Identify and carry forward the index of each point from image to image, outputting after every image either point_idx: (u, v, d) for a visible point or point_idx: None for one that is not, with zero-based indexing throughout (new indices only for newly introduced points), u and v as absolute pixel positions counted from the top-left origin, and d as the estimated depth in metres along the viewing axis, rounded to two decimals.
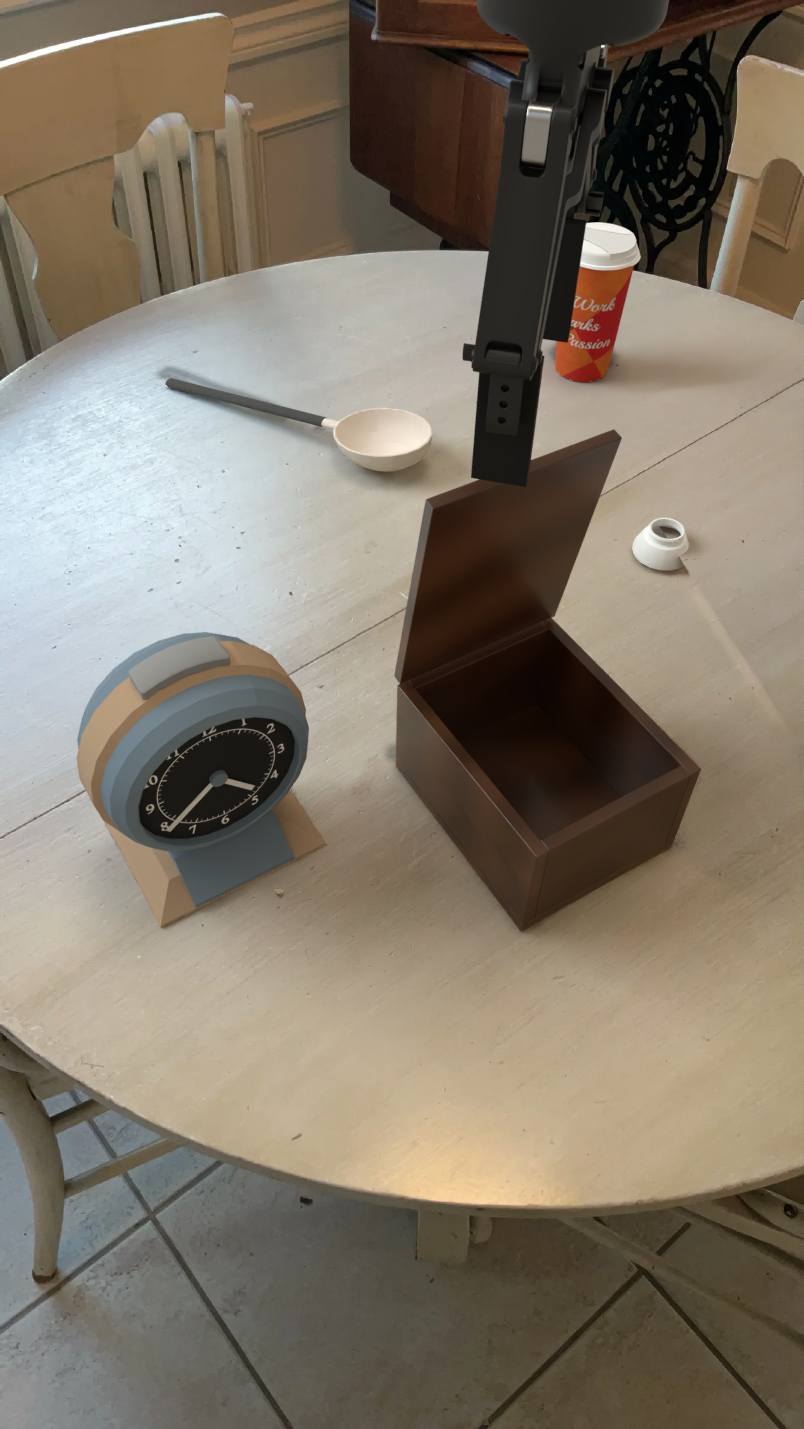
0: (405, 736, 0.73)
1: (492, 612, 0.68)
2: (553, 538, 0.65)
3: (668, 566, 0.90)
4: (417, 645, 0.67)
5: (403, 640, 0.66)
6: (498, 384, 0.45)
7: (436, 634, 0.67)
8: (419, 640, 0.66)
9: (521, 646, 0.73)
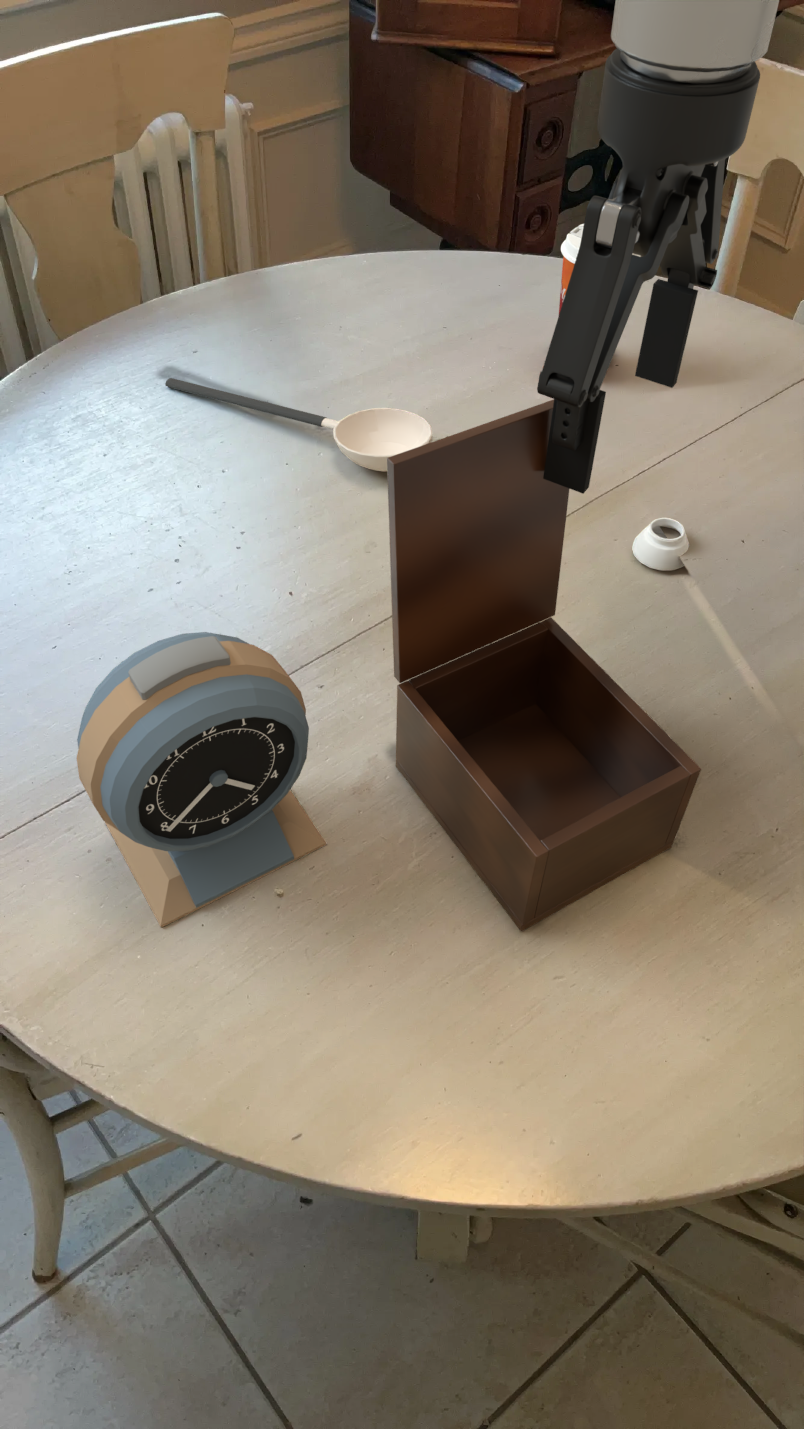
0: (405, 736, 0.73)
1: (483, 601, 0.69)
2: (531, 515, 0.66)
3: (668, 566, 0.90)
4: (409, 634, 0.67)
5: (394, 629, 0.67)
6: (563, 407, 0.58)
7: (427, 623, 0.67)
8: (410, 628, 0.67)
9: (521, 646, 0.73)
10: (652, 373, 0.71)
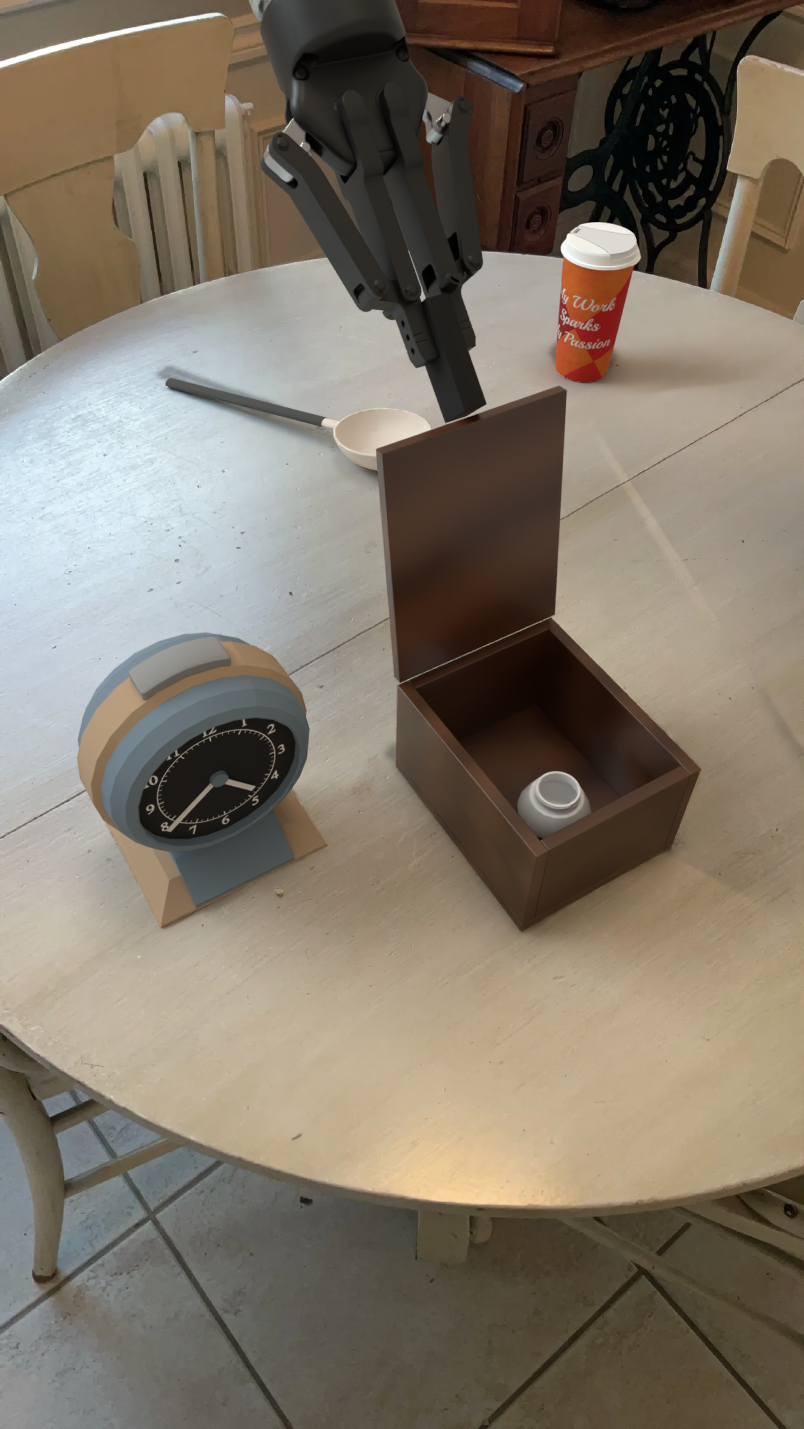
0: (405, 736, 0.73)
1: (481, 599, 0.69)
2: (525, 509, 0.66)
3: None
4: (407, 632, 0.67)
5: (392, 627, 0.67)
6: (400, 323, 0.60)
7: (425, 620, 0.67)
8: (408, 625, 0.67)
9: (521, 646, 0.73)
10: None
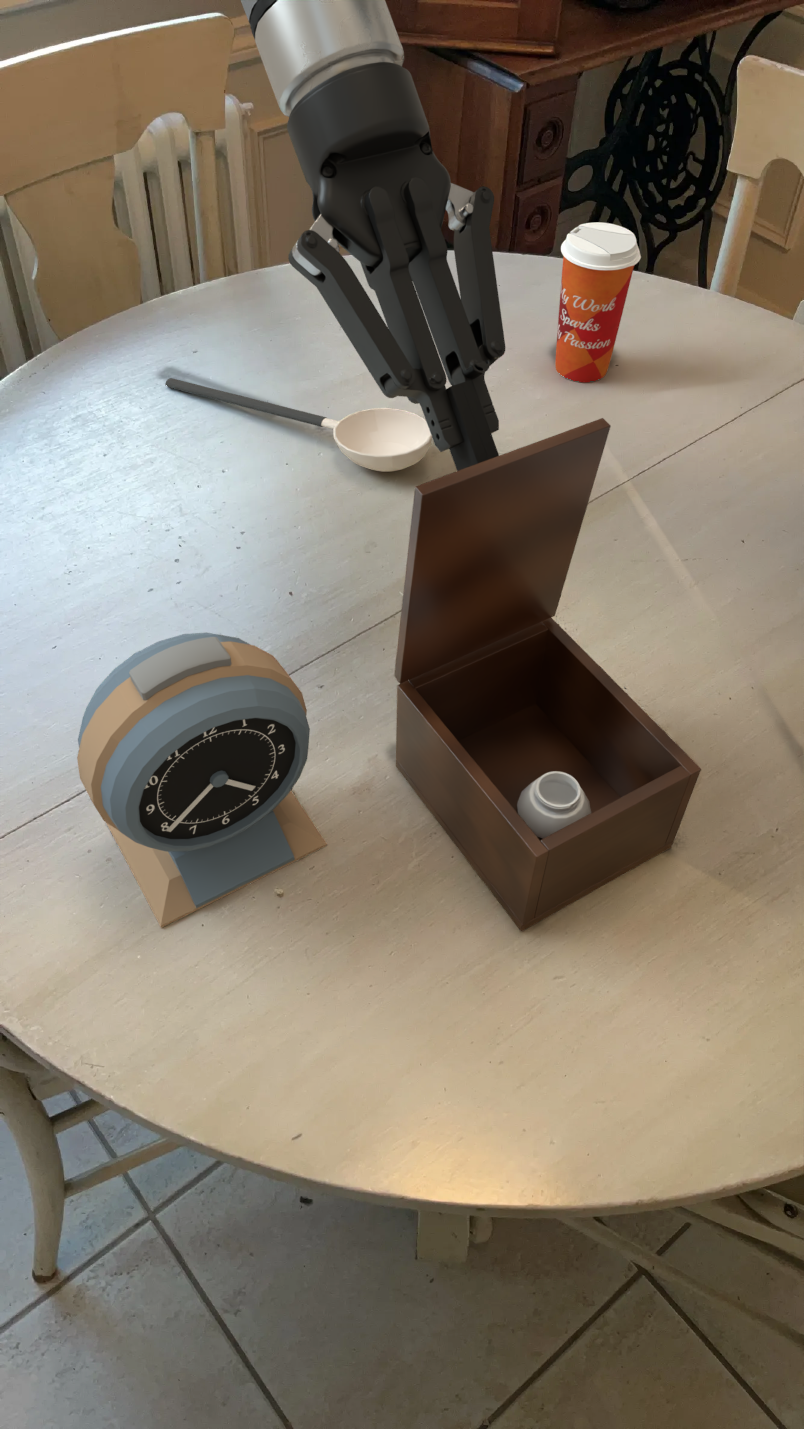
0: (405, 736, 0.73)
1: (489, 609, 0.68)
2: (547, 531, 0.65)
3: None
4: (415, 642, 0.67)
5: (401, 637, 0.66)
6: (425, 409, 0.61)
7: (434, 631, 0.67)
8: (417, 637, 0.66)
9: (521, 646, 0.73)
10: None
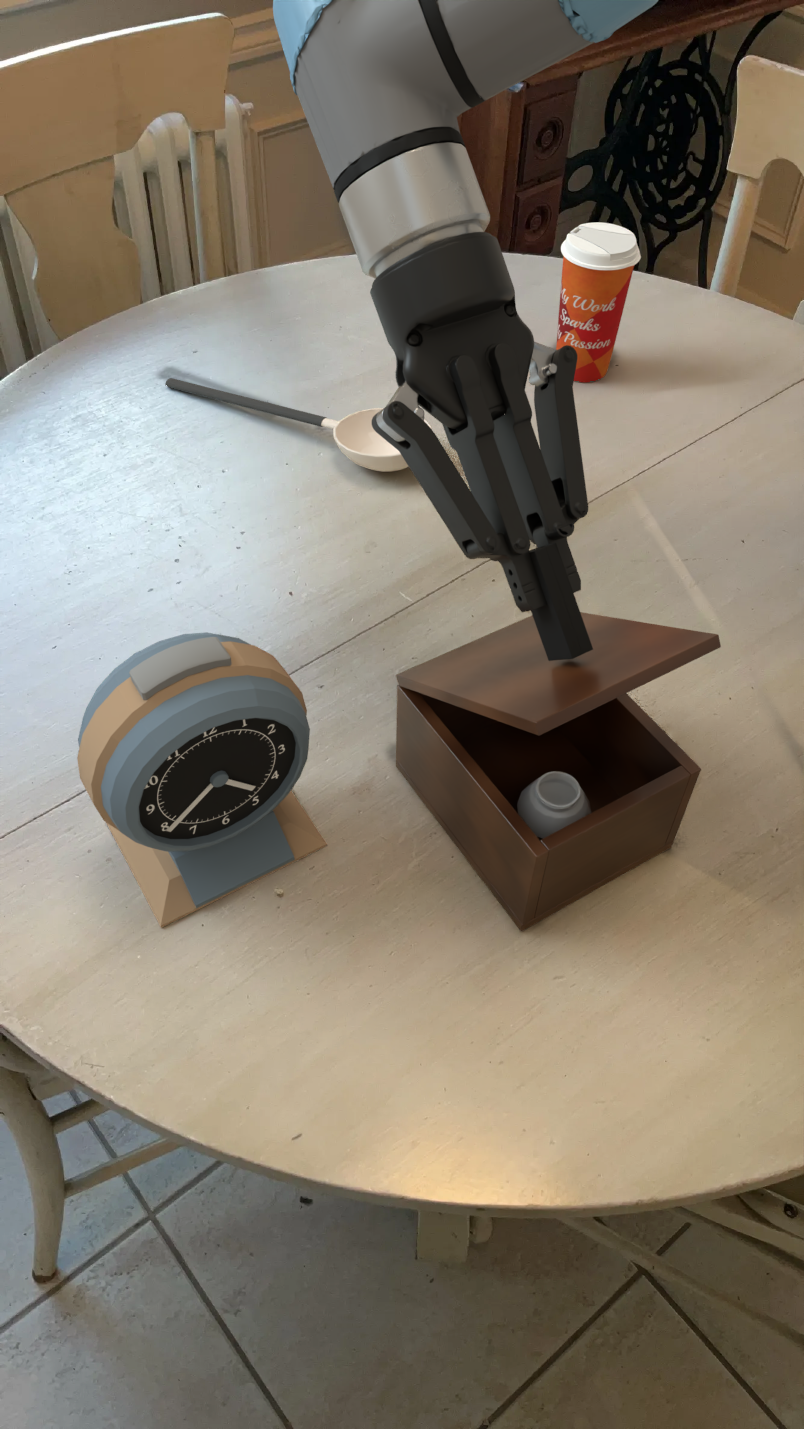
0: (405, 736, 0.73)
1: None
2: None
3: None
4: None
5: (427, 690, 0.66)
6: (507, 570, 0.60)
7: None
8: None
9: None
10: None
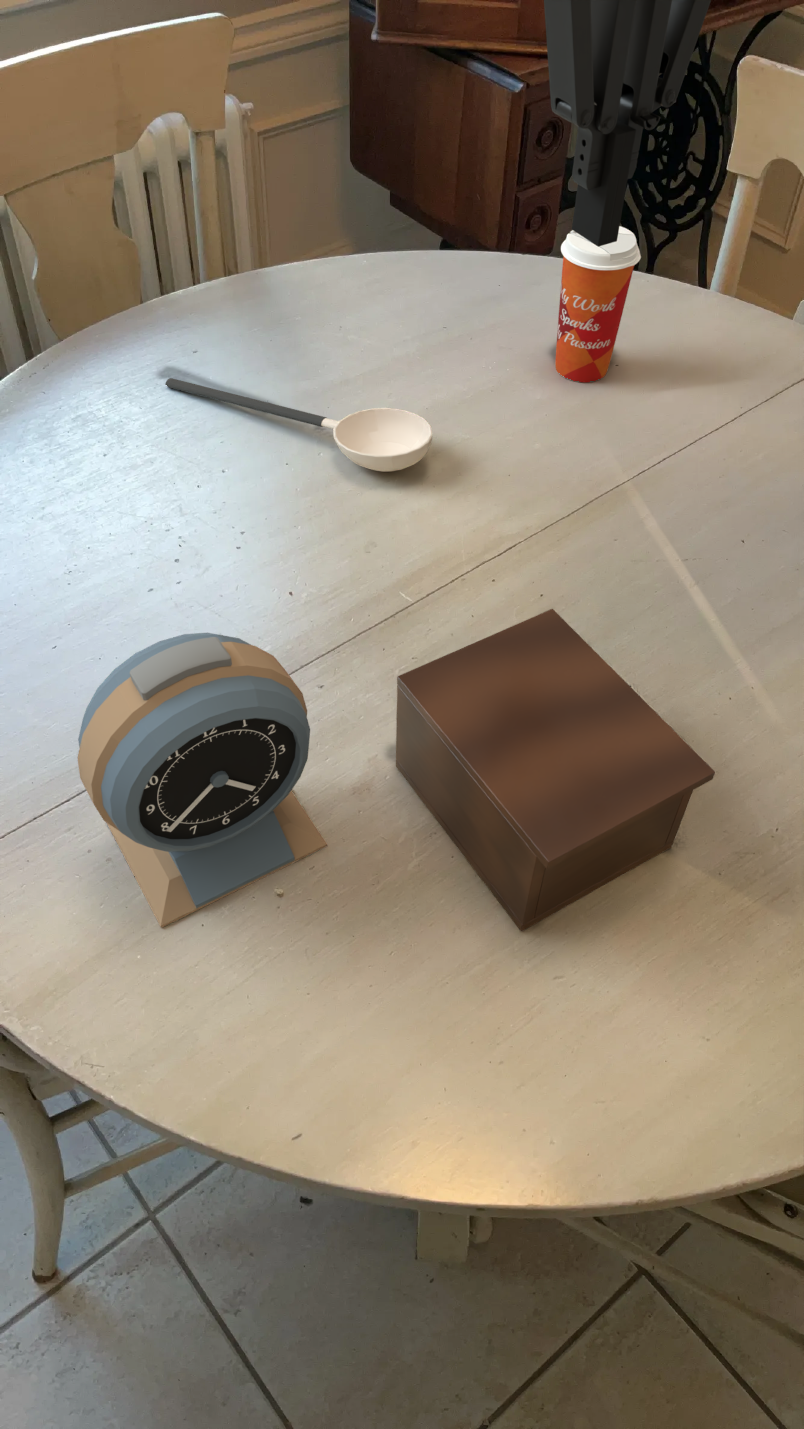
0: (405, 736, 0.73)
1: None
2: None
3: None
4: None
5: (432, 723, 0.67)
6: (581, 138, 0.61)
7: None
8: None
9: None
10: None
